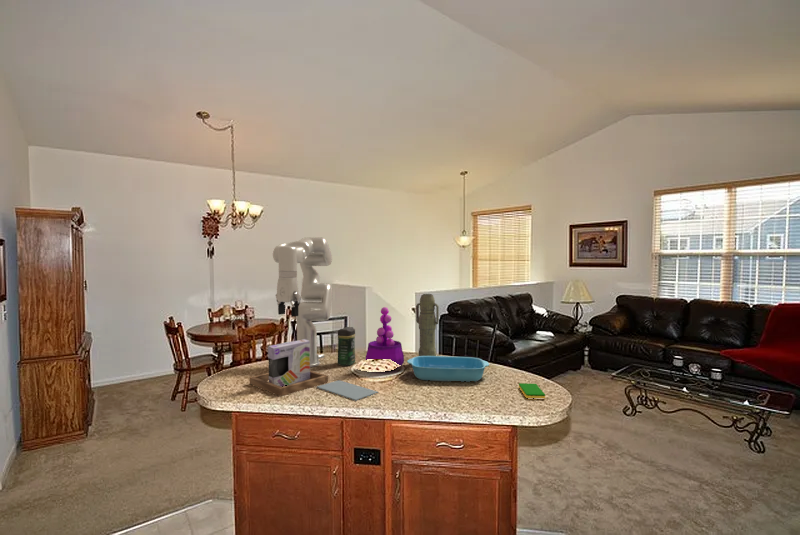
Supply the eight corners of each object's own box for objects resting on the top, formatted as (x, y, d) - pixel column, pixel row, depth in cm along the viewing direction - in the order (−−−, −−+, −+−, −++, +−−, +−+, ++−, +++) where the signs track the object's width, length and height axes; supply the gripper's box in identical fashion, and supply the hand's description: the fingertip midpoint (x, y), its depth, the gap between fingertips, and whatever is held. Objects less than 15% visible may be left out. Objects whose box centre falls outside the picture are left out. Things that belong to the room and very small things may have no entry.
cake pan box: (271, 390, 174) (271, 347, 174) (265, 387, 178) (265, 345, 177) (311, 379, 188) (310, 340, 187) (304, 377, 191) (304, 338, 191)
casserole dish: (485, 370, 203) (485, 355, 203) (492, 385, 181) (492, 368, 181) (408, 369, 206) (408, 354, 206) (405, 383, 184) (405, 366, 183)
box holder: (296, 372, 199) (296, 366, 199) (328, 382, 184) (328, 375, 184) (249, 384, 182) (249, 377, 182) (280, 396, 166) (280, 388, 166)
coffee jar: (350, 366, 209) (349, 329, 209) (335, 365, 212) (335, 328, 211) (357, 362, 219) (357, 326, 218) (343, 361, 221) (343, 325, 220)
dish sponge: (526, 400, 162) (526, 394, 162) (518, 388, 176) (518, 383, 176) (545, 400, 162) (545, 394, 162) (536, 389, 176) (536, 383, 176)
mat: (339, 381, 185) (339, 380, 185) (378, 393, 170) (378, 391, 170) (316, 387, 177) (316, 386, 176) (356, 401, 161) (356, 399, 161)
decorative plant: (361, 365, 212) (361, 305, 211) (397, 362, 218) (397, 304, 217) (370, 375, 194) (370, 310, 193) (409, 372, 200) (409, 308, 199)
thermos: (418, 359, 224) (418, 293, 223) (440, 361, 220) (440, 293, 219) (413, 363, 215) (413, 294, 214) (436, 365, 212) (436, 295, 211)
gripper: (268, 275, 184) (269, 314, 185) (292, 276, 173) (292, 318, 173) (284, 274, 190) (284, 312, 190) (307, 275, 178) (307, 316, 179)
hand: (288, 315), depth 182 cm, fingers open, 9 cm apart
